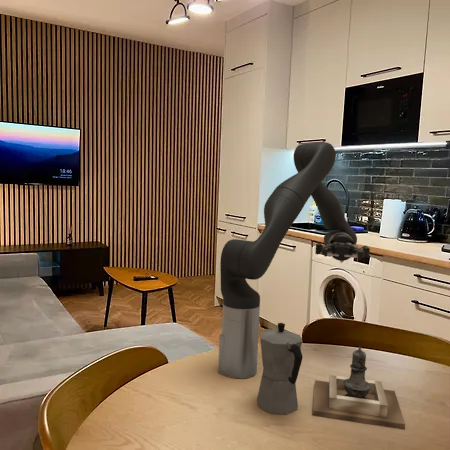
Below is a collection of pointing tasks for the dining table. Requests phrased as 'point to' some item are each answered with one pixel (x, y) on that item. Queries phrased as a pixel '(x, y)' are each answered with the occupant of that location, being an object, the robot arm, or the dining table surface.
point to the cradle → (357, 403)
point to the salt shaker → (357, 377)
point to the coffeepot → (279, 370)
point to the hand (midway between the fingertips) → (342, 253)
